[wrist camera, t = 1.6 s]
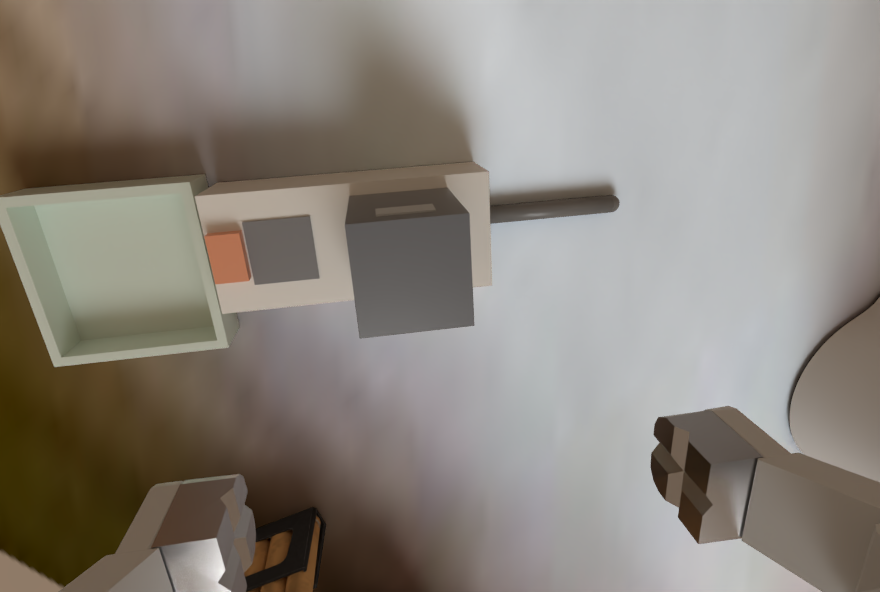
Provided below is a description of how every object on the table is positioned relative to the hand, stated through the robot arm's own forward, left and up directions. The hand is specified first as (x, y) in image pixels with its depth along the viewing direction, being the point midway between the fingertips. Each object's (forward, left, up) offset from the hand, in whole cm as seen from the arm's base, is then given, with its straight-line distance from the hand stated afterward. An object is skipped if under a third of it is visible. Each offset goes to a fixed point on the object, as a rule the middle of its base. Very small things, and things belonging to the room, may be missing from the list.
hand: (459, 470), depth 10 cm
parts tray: (+14, +1, -22) cm, 26 cm away
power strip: (-2, 0, -22) cm, 22 cm away
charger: (0, 0, -21) cm, 21 cm away
